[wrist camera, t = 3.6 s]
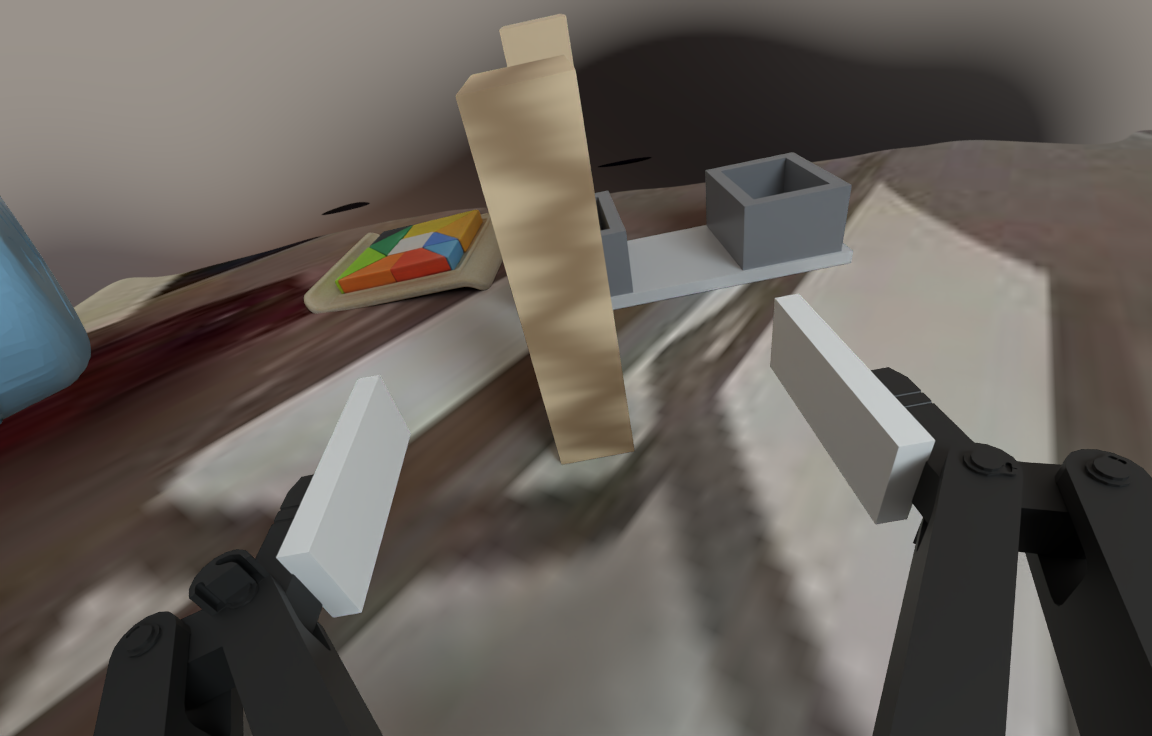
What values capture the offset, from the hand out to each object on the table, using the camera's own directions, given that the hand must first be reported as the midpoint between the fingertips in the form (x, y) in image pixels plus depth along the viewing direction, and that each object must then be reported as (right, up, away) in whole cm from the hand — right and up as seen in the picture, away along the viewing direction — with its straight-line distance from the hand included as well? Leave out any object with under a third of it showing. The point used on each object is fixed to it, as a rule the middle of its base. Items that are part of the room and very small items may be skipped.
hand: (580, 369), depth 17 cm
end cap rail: (+8, +9, +26) cm, 29 cm away
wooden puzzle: (-17, +11, +37) cm, 42 cm away
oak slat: (+1, -3, +13) cm, 13 cm away
